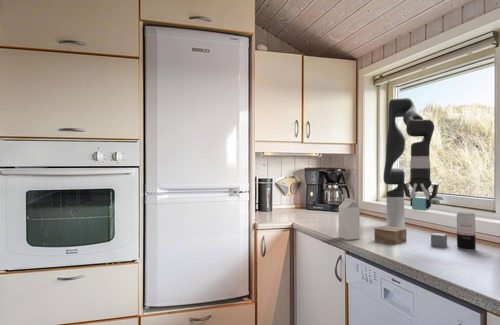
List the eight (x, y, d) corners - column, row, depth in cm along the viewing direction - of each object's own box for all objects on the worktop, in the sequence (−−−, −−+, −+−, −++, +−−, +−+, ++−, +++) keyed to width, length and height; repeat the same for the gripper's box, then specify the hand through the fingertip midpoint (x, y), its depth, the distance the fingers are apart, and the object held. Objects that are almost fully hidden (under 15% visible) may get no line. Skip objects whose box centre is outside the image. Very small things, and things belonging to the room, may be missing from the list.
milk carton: (346, 240, 163) (346, 199, 163) (338, 237, 170) (338, 198, 170) (359, 239, 165) (359, 199, 165) (351, 236, 171) (351, 197, 172)
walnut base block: (386, 238, 168) (386, 226, 168) (406, 242, 160) (406, 228, 160) (374, 241, 161) (374, 228, 161) (395, 245, 153) (395, 231, 154)
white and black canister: (458, 246, 150) (458, 211, 150) (476, 248, 145) (476, 212, 146) (455, 249, 145) (455, 212, 145) (474, 251, 140) (474, 214, 141)
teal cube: (416, 208, 150) (416, 196, 150) (428, 209, 146) (428, 197, 146) (412, 209, 146) (412, 197, 146) (425, 210, 143) (425, 198, 143)
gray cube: (434, 244, 155) (434, 232, 155) (447, 245, 151) (447, 234, 151) (431, 246, 151) (430, 234, 151) (443, 247, 148) (443, 235, 148)
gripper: (441, 167, 144) (442, 208, 144) (405, 167, 154) (406, 205, 154) (436, 167, 139) (436, 210, 138) (399, 167, 148) (399, 207, 148)
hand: (420, 207), depth 146 cm, fingers closed on teal cube, 5 cm apart
